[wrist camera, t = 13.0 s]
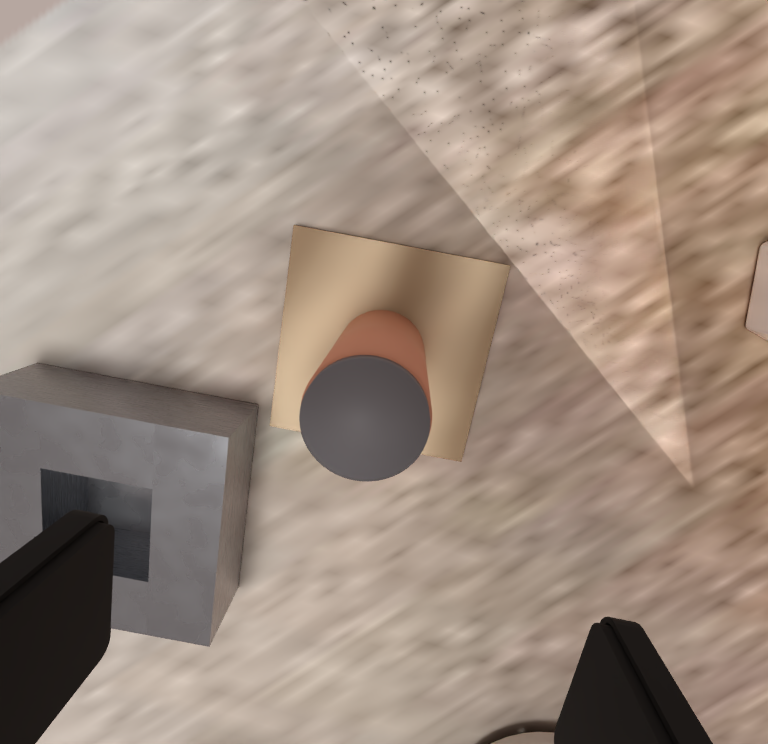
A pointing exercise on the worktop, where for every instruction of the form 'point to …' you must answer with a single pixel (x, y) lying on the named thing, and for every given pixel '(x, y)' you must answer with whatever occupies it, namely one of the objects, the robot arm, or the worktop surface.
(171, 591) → the bore housing
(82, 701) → the worktop surface
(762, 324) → the jar
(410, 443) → the orange grey-topped cylinder
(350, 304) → the plate
